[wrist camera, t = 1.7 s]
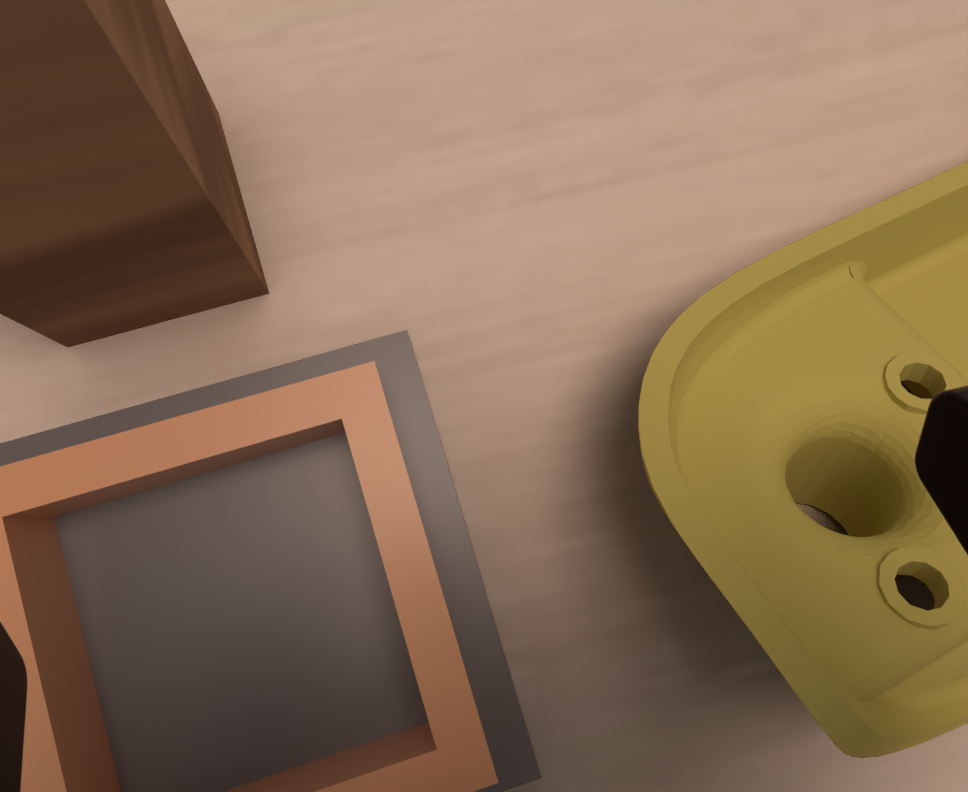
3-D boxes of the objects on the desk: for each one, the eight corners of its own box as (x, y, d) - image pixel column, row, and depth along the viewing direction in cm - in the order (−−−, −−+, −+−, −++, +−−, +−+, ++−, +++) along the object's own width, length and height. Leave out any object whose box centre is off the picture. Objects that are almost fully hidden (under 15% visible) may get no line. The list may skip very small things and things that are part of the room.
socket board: (537, 769, 20) (559, 816, 17) (69, 935, 19) (2, 1017, 16) (407, 335, 21) (406, 304, 18) (-41, 460, 20) (-123, 450, 17)
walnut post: (269, 293, 21) (67, -26, 9) (67, 346, 20) (-456, 86, 8) (217, 112, 22) (-38, -426, 9) (20, 159, 21) (-535, -352, 9)
